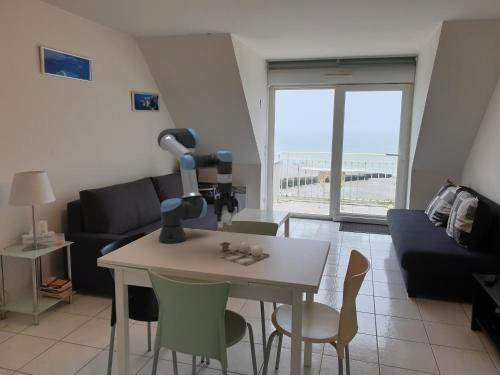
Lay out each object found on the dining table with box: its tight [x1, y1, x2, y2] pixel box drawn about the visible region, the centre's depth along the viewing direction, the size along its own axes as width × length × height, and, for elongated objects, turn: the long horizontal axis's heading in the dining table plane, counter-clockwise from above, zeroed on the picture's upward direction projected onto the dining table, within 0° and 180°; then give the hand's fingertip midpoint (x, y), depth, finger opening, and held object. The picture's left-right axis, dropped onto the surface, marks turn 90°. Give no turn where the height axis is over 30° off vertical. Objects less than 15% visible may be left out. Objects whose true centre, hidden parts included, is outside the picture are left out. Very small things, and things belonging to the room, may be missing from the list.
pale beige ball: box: [237, 241, 251, 254], centre depth 203 cm, size 6×6×6 cm
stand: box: [219, 241, 231, 254], centre depth 207 cm, size 5×5×5 cm
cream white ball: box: [250, 244, 264, 257], centre depth 197 cm, size 6×6×6 cm
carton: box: [219, 248, 270, 267], centre depth 197 cm, size 18×18×2 cm
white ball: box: [222, 210, 231, 224], centre depth 204 cm, size 6×6×6 cm
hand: (224, 226), depth 205 cm, fingers closed on white ball, 6 cm apart
